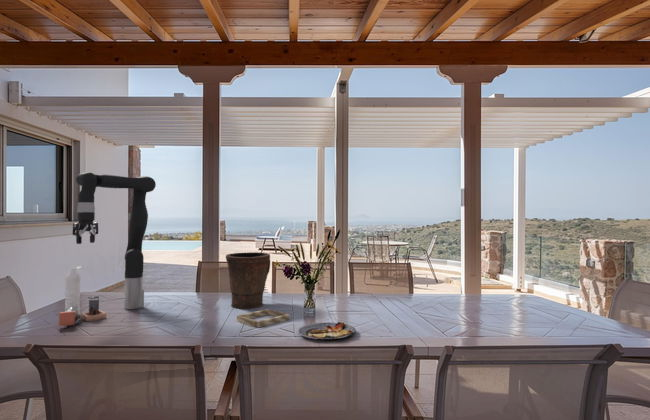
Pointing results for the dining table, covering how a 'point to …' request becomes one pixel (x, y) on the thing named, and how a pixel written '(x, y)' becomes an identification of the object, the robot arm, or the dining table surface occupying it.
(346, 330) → the food plate
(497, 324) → the dining table surface
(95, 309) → the peg
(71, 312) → the crank
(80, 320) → the base
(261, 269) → the clay pot
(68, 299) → the water bottle
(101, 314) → the tray
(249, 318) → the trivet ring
